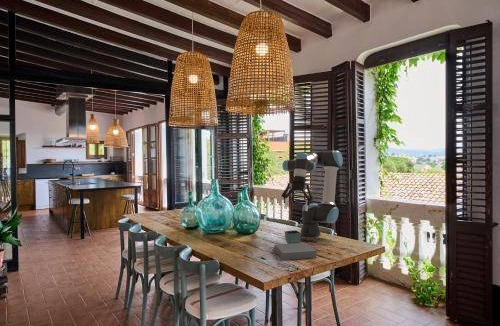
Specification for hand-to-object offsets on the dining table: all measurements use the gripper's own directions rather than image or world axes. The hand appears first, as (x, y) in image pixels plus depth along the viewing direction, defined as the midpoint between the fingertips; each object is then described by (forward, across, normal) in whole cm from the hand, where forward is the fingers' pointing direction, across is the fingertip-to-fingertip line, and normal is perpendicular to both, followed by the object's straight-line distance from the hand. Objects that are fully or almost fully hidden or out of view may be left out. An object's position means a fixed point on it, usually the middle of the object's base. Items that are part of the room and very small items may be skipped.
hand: (295, 209), depth 212 cm
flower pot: (+22, -6, +20) cm, 30 cm away
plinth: (+27, +2, +1) cm, 27 cm away
